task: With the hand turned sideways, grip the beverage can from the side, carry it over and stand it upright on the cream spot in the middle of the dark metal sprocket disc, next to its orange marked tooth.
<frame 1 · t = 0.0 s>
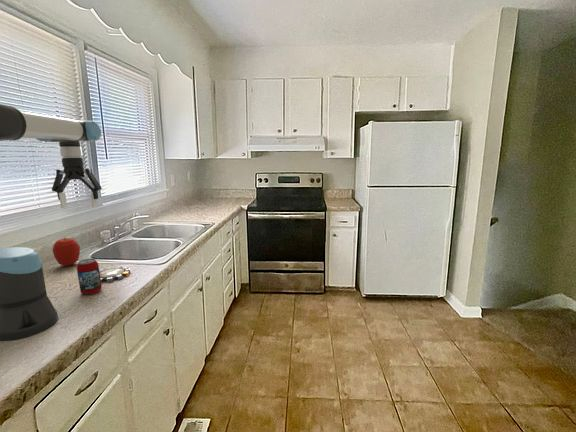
hand: (79, 207, 138), 28 cm above the worktop, tool pointing down, fingers open, 13 cm apart
apple: (69, 265, 148), on the worktop
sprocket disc: (110, 276, 133), on the worktop
beverage can: (91, 292, 118), on the worktop
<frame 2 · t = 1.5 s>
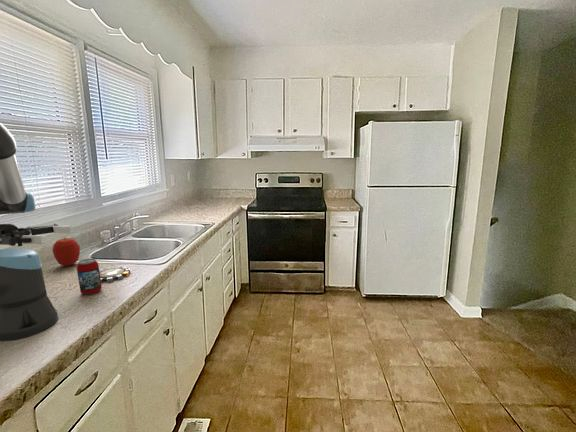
hand: (57, 234, 114), 22 cm above the worktop, tool horizontal, fingers open, 13 cm apart
nothing on the worktop moved.
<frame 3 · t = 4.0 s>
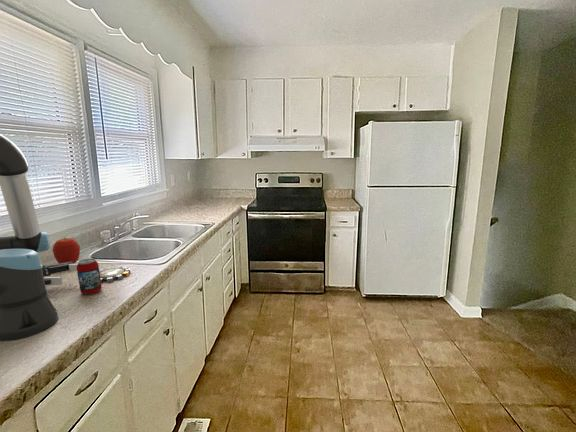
hand: (74, 273, 118), 7 cm above the worktop, tool horizontal, fingers open, 13 cm apart
nothing on the worktop moved.
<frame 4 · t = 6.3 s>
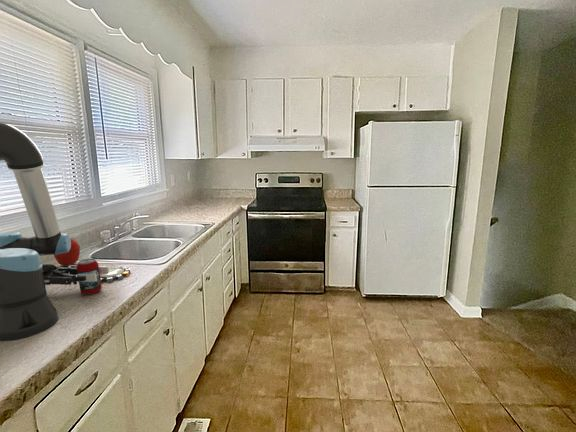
hand: (102, 273, 116), 7 cm above the worktop, tool horizontal, fingers closed on beverage can, 7 cm apart
beverage can: (91, 292, 118), on the worktop, touching gripper
everything else where it was.
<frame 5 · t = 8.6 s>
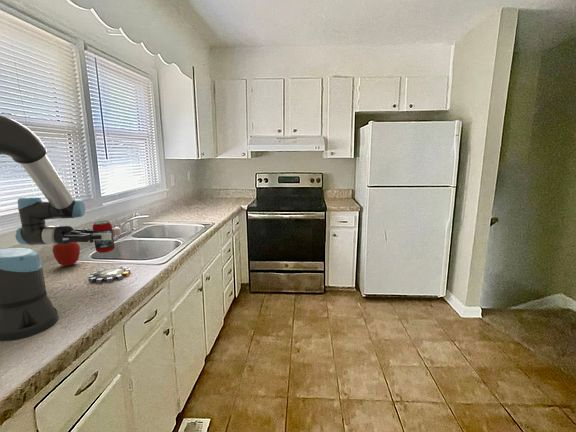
hand: (115, 234, 128), 19 cm above the worktop, tool horizontal, fingers closed on beverage can, 7 cm apart
beverage can: (105, 251, 129), point 11 cm above the worktop, touching gripper
everything else where it was.
when the fingers open (9 cm above the worktop, at t = 10.8 s): beverage can stays where it is, resting on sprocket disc.
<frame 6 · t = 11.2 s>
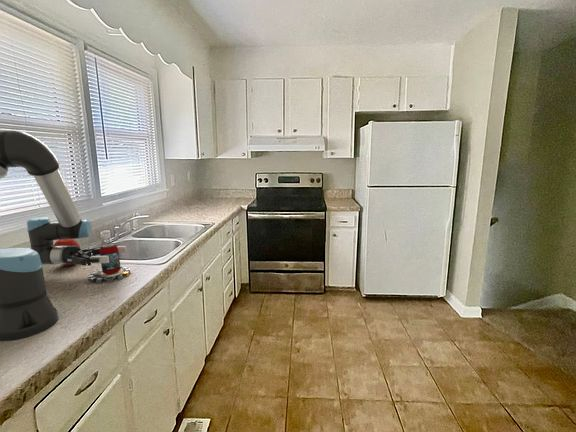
hand: (117, 254, 131), 9 cm above the worktop, tool horizontal, fingers open, 13 cm apart
beverage can: (112, 272, 133), point 1 cm above the worktop, touching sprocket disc
everything else where it was.
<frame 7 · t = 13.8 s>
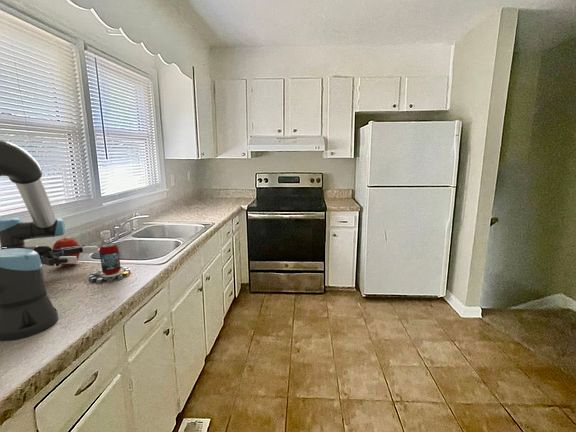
hand: (87, 254, 132), 10 cm above the worktop, tool horizontal, fingers open, 13 cm apart
nothing on the worktop moved.
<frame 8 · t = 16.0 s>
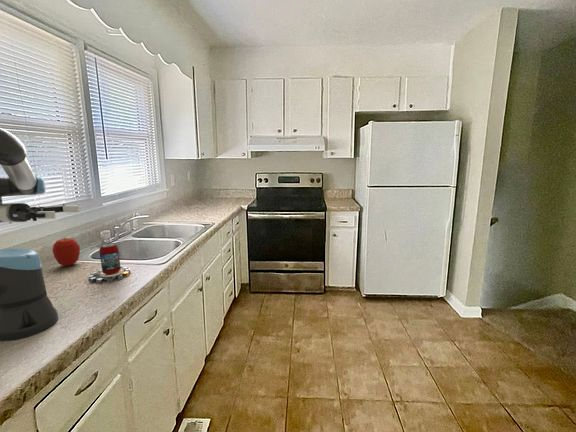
hand: (67, 211, 127), 28 cm above the worktop, tool horizontal, fingers open, 13 cm apart
nothing on the worktop moved.
at the end: beverage can 0.0 cm from the target spot on the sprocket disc, point 1.4 cm above the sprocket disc's base; beverage can tilted 0°; the gripper is holding nothing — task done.
